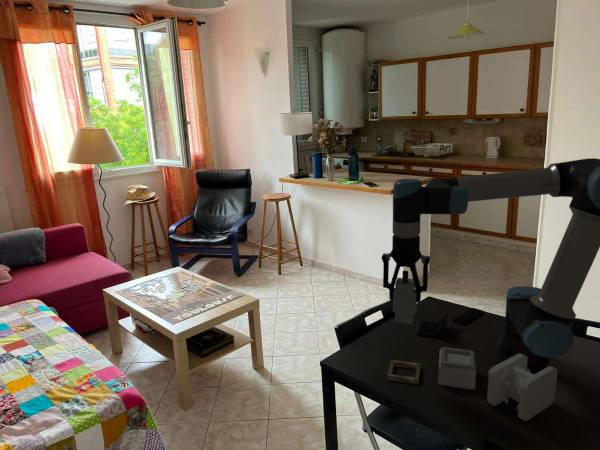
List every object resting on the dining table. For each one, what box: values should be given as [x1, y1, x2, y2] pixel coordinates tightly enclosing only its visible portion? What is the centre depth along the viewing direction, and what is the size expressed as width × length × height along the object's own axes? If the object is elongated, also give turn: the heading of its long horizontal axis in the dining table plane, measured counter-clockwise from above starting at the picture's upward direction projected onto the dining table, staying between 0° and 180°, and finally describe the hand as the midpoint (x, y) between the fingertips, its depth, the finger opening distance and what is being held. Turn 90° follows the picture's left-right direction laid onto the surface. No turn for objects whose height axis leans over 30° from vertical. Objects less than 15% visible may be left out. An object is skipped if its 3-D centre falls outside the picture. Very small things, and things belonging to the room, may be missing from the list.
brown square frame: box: [386, 359, 421, 386], centre depth 135 cm, size 9×9×2 cm
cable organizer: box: [486, 354, 558, 422], centre depth 118 cm, size 15×11×12 cm
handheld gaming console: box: [416, 312, 449, 339], centre depth 160 cm, size 12×7×10 cm
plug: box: [394, 270, 416, 325], centre depth 129 cm, size 5×5×15 cm
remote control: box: [452, 307, 484, 326], centre depth 170 cm, size 5×2×15 cm
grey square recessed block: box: [437, 346, 477, 391], centre depth 132 cm, size 10×10×7 cm
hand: (404, 310), depth 131 cm, fingers closed on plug, 5 cm apart
